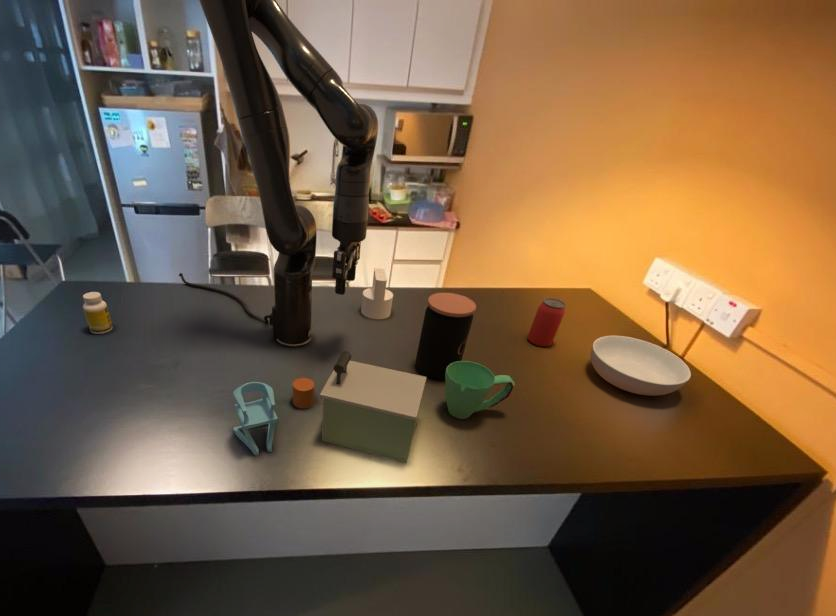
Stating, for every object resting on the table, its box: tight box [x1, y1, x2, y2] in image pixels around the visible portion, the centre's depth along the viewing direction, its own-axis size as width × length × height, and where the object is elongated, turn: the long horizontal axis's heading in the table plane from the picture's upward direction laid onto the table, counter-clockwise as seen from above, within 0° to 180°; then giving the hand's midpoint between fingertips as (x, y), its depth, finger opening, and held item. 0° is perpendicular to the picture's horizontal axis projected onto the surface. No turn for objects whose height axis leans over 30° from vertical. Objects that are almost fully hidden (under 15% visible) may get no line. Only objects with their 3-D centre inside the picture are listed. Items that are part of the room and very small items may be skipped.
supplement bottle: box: [82, 291, 114, 335], centre depth 109 cm, size 5×5×10 cm
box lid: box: [319, 350, 428, 421], centre depth 78 cm, size 18×13×5 cm
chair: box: [233, 381, 279, 457], centre depth 78 cm, size 8×8×12 cm
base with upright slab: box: [360, 267, 394, 320], centre depth 125 cm, size 9×9×12 cm
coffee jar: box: [415, 292, 477, 381], centre depth 100 cm, size 11×11×18 cm
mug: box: [444, 360, 515, 420], centre depth 90 cm, size 15×10×10 cm
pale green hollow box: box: [321, 385, 426, 463], centre depth 83 cm, size 17×13×10 cm
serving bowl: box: [590, 335, 692, 397], centre depth 104 cm, size 21×21×7 cm
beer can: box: [527, 297, 566, 348], centre depth 116 cm, size 7×7×12 cm
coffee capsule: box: [292, 377, 315, 410], centre depth 91 cm, size 5×5×5 cm
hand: (345, 286), depth 100 cm, fingers open, 8 cm apart
